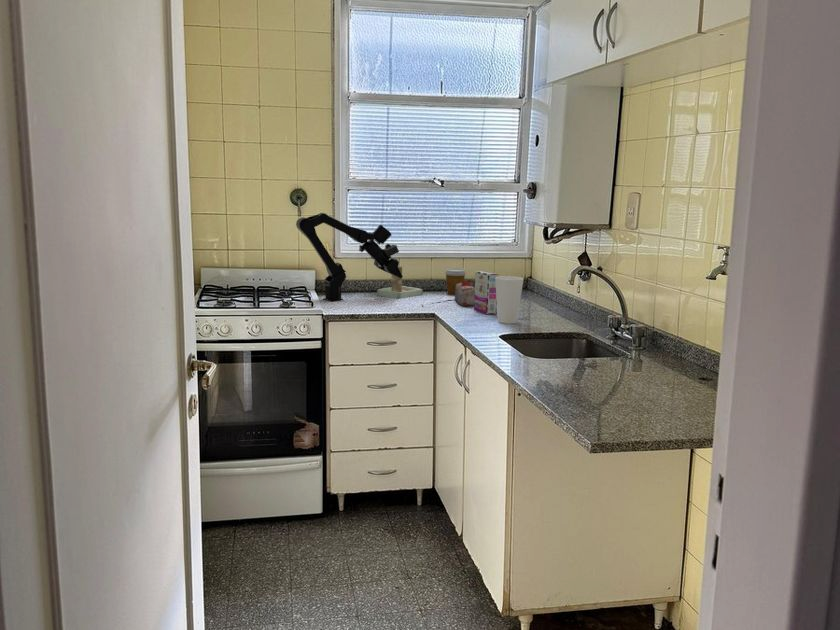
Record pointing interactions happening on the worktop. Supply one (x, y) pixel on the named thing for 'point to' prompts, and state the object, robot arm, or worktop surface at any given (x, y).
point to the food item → (465, 294)
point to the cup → (508, 298)
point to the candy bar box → (485, 292)
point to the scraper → (396, 282)
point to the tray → (410, 293)
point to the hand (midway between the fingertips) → (398, 276)
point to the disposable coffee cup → (454, 279)
